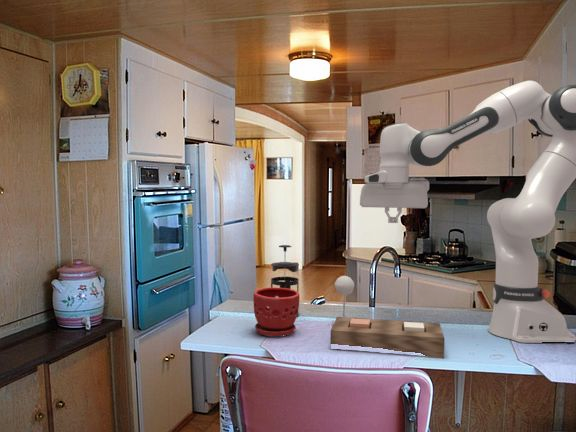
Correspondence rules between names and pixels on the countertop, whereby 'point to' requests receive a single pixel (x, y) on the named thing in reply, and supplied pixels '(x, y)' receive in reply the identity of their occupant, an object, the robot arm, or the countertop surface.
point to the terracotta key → (360, 323)
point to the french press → (287, 280)
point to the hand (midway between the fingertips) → (392, 222)
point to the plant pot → (275, 311)
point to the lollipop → (344, 288)
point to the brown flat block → (390, 336)
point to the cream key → (413, 327)
